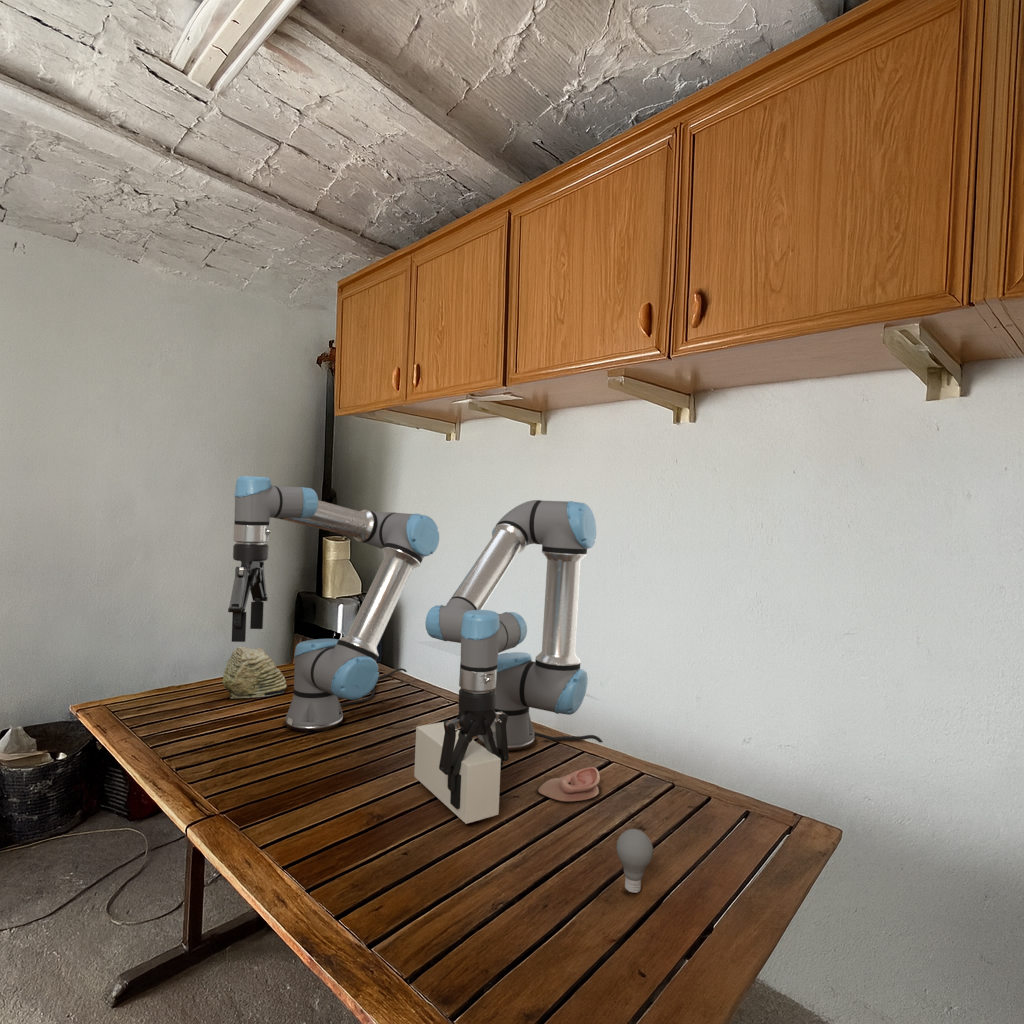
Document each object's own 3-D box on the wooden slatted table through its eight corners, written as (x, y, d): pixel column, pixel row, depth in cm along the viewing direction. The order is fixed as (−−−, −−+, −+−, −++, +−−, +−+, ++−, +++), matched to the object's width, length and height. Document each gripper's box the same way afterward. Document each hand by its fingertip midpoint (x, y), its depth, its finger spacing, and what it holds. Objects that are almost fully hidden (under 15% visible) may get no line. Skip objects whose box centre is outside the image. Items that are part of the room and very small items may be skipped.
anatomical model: (536, 779, 137) (544, 758, 148) (535, 797, 137) (543, 775, 148) (598, 787, 134) (601, 766, 146) (597, 806, 134) (600, 783, 146)
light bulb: (610, 879, 108) (613, 822, 108) (644, 879, 109) (647, 822, 109) (619, 902, 102) (622, 840, 102) (655, 901, 103) (658, 840, 103)
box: (414, 776, 142) (416, 726, 142) (444, 769, 146) (445, 721, 146) (465, 824, 122) (468, 766, 122) (498, 814, 126) (500, 758, 126)
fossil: (218, 695, 195) (220, 647, 195) (278, 685, 208) (279, 640, 207) (228, 703, 189) (230, 653, 188) (289, 692, 201) (290, 645, 201)
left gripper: (251, 548, 134) (248, 647, 134) (281, 540, 159) (278, 624, 159) (214, 546, 133) (211, 647, 134) (250, 539, 158) (247, 623, 158)
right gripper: (440, 700, 118) (435, 821, 119) (530, 687, 130) (525, 797, 130) (423, 689, 125) (418, 804, 125) (509, 677, 136) (505, 783, 136)
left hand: (247, 635), depth 146 cm, fingers open, 13 cm apart
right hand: (473, 801), depth 128 cm, fingers closed on box, 7 cm apart
